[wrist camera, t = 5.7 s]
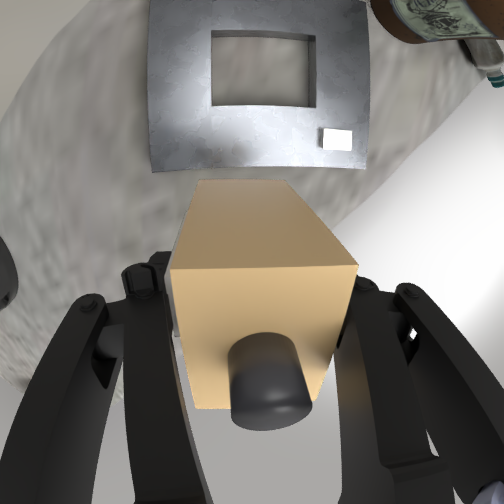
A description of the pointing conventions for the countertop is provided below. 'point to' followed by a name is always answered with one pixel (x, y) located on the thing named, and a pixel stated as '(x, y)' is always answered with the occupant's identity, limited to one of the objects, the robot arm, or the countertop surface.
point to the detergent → (487, 58)
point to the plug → (258, 300)
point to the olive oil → (441, 19)
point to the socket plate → (253, 116)
